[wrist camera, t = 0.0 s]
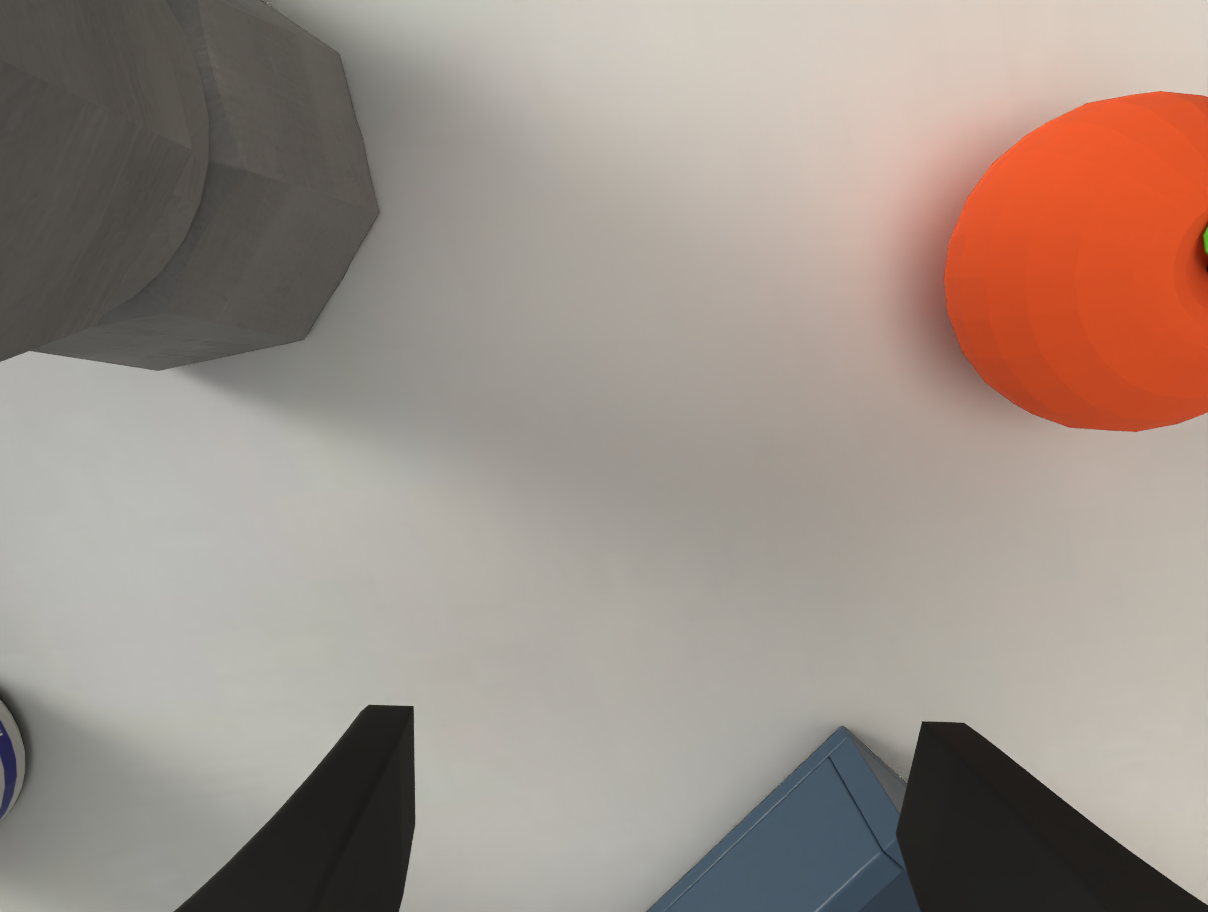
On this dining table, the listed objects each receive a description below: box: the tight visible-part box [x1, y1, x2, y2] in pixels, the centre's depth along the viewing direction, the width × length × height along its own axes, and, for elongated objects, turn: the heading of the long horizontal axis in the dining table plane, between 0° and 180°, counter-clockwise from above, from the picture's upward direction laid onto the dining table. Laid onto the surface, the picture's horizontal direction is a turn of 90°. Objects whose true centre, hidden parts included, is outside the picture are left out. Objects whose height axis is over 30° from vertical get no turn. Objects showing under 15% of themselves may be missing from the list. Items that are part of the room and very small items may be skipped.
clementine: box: [944, 91, 1208, 432], centre depth 18 cm, size 8×7×7 cm
